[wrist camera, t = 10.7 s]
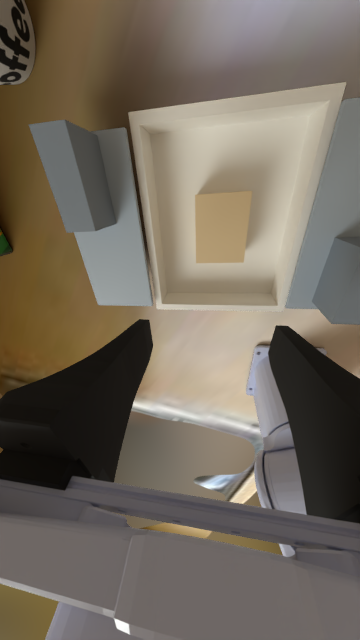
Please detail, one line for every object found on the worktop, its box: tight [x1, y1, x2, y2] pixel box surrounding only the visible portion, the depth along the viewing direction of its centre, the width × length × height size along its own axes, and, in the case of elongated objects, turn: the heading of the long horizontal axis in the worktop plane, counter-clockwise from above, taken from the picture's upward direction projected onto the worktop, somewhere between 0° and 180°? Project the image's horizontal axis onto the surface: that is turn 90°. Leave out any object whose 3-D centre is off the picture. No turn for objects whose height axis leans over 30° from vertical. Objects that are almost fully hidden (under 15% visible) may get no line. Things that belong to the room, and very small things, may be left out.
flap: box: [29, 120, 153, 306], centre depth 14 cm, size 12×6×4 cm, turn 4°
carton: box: [128, 82, 347, 312], centre depth 16 cm, size 14×12×3 cm
